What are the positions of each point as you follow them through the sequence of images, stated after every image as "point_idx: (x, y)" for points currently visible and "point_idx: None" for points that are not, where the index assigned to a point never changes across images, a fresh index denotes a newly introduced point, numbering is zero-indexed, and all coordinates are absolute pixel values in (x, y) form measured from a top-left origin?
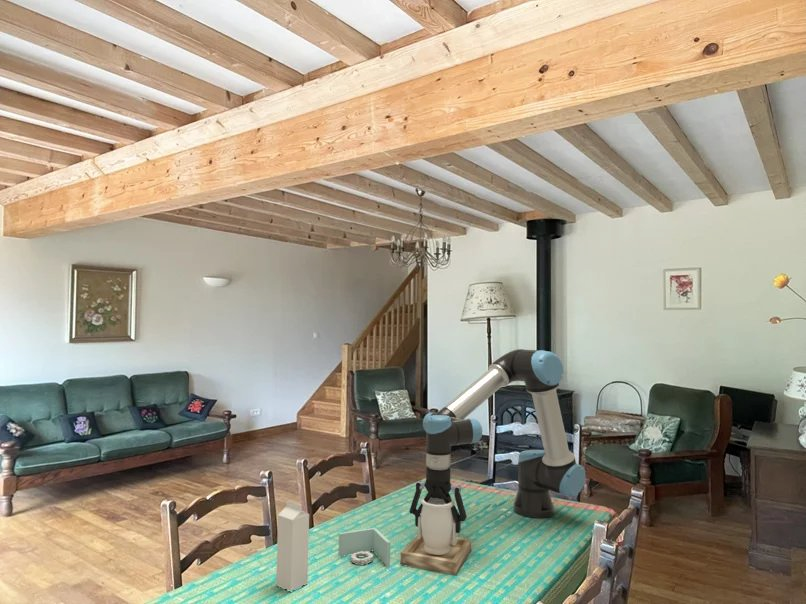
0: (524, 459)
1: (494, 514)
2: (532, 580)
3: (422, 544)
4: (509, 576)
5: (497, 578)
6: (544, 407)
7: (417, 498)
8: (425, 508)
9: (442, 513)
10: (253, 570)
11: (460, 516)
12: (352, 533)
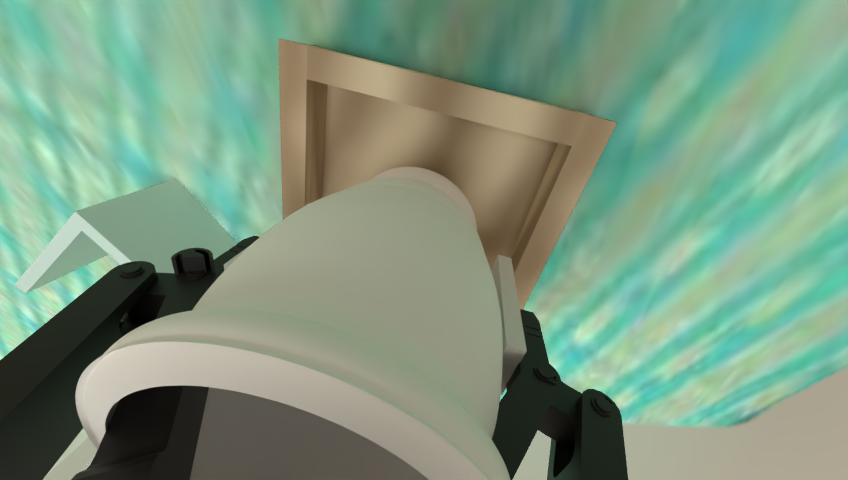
0: None
1: None
2: (783, 354)
3: (333, 123)
4: (696, 332)
5: (639, 344)
6: None
7: (61, 450)
8: (244, 466)
9: None
10: (25, 322)
11: (552, 459)
12: (50, 269)
